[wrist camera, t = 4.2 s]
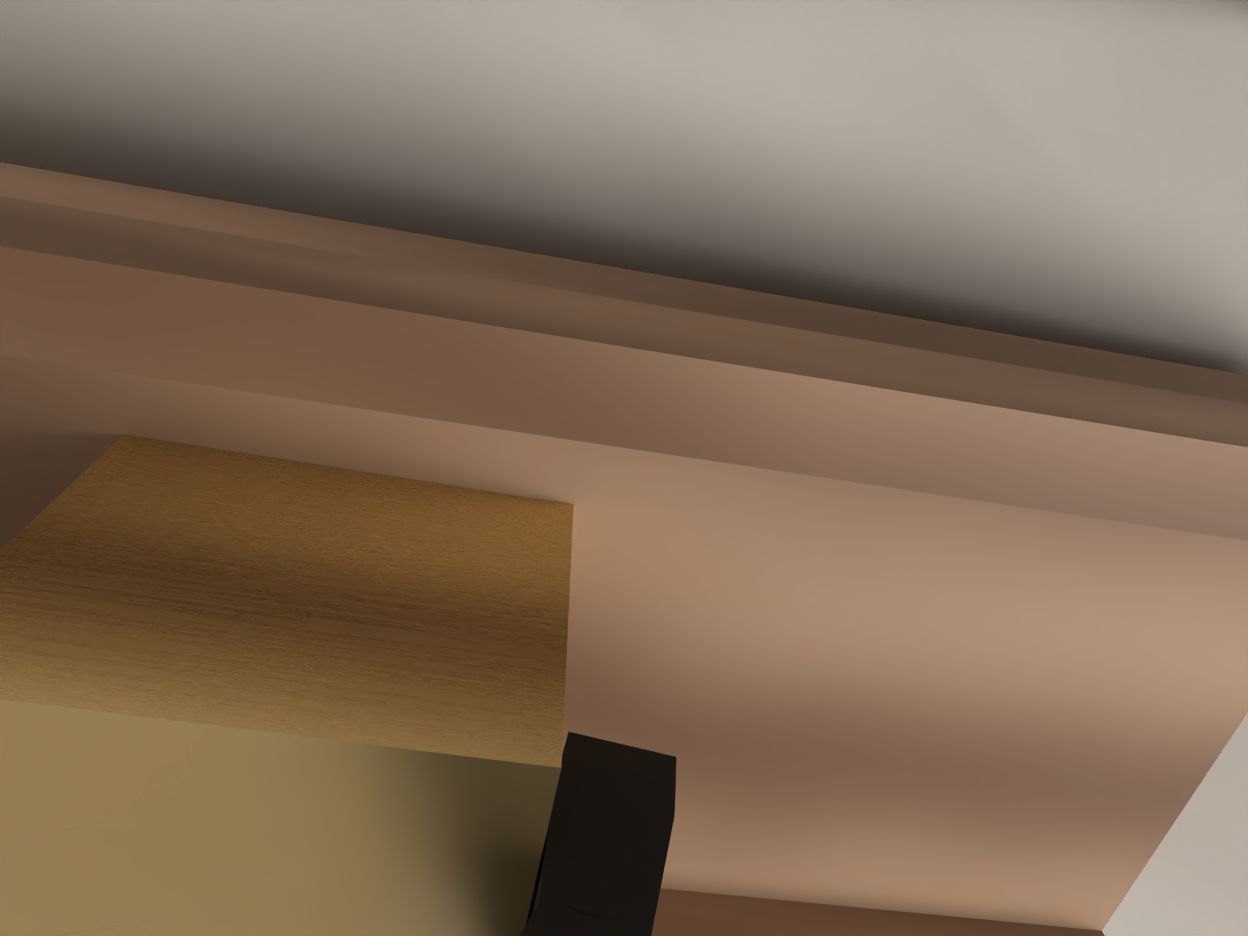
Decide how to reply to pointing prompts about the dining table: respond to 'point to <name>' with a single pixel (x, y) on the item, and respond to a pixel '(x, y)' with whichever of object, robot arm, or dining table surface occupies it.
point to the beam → (721, 531)
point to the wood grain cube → (278, 701)
